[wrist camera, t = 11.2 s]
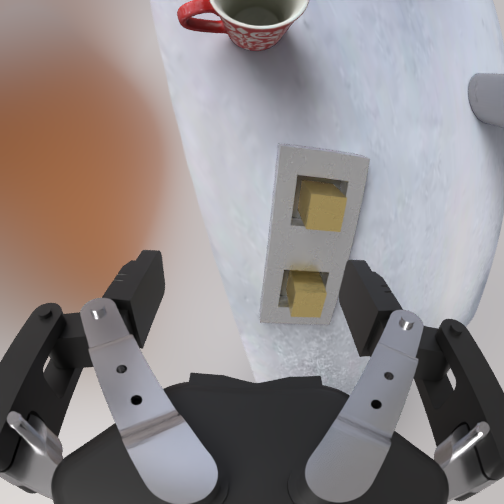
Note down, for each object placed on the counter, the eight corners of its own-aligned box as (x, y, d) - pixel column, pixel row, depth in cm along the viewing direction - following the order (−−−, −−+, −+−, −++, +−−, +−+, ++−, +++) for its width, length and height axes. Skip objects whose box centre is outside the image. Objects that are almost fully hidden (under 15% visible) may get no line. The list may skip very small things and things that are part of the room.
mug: (285, -2, 26) (300, -46, 14) (295, 54, 30) (317, 27, 18) (191, 10, 27) (164, -30, 15) (198, 65, 31) (172, 44, 19)
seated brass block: (332, 183, 39) (347, 198, 33) (327, 212, 41) (340, 232, 35) (301, 179, 39) (311, 193, 32) (297, 209, 41) (305, 229, 35)
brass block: (317, 267, 45) (326, 293, 39) (312, 290, 47) (320, 317, 41) (290, 265, 45) (295, 292, 39) (286, 289, 47) (290, 316, 41)
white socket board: (278, 143, 36) (280, 145, 34) (361, 155, 37) (369, 159, 34) (259, 311, 49) (260, 322, 47) (326, 313, 50) (329, 324, 47)
